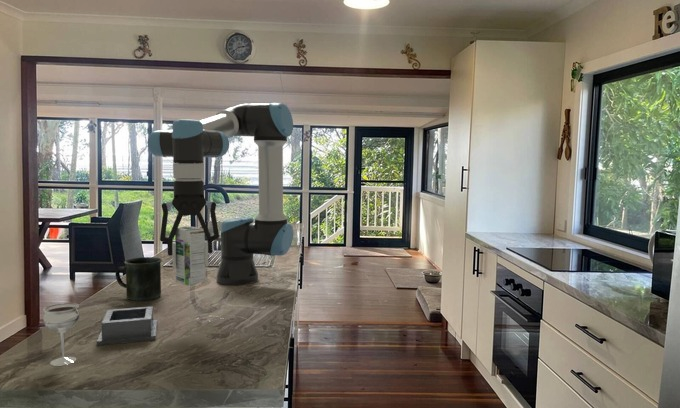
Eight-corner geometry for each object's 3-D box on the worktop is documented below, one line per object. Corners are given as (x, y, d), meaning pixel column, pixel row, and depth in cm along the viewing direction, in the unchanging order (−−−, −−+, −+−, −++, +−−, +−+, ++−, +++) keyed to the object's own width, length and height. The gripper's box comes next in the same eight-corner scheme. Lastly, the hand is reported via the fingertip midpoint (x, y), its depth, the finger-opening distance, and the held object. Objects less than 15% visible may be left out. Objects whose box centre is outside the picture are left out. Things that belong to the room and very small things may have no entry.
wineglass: (42, 369, 99) (40, 313, 98) (47, 357, 105) (45, 304, 104) (79, 364, 102) (77, 310, 101) (82, 353, 108) (80, 301, 107)
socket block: (157, 322, 129) (157, 304, 129) (155, 339, 117) (155, 319, 116) (104, 327, 125) (103, 309, 124) (96, 345, 113) (96, 325, 112)
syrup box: (175, 282, 126) (173, 227, 124) (194, 277, 130) (193, 225, 129) (187, 286, 122) (185, 230, 120) (206, 281, 126) (205, 227, 125)
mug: (154, 302, 148) (153, 264, 147) (108, 301, 149) (107, 263, 148) (167, 292, 159) (167, 257, 158) (124, 291, 159) (123, 256, 158)
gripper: (227, 179, 130) (228, 261, 132) (147, 179, 124) (150, 265, 126) (230, 180, 123) (231, 266, 125) (145, 181, 117) (148, 272, 119)
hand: (190, 266), depth 126 cm, fingers closed on syrup box, 7 cm apart
